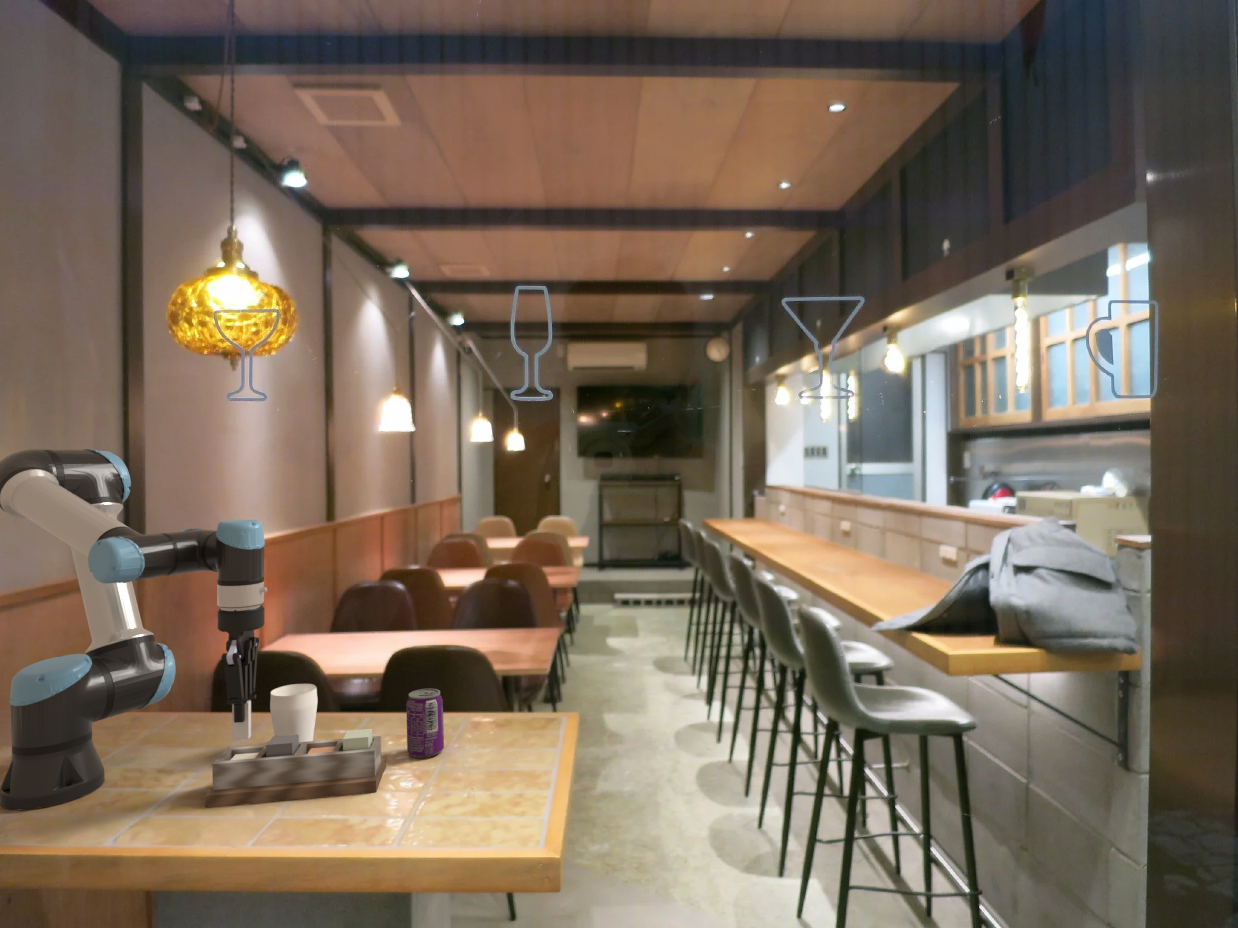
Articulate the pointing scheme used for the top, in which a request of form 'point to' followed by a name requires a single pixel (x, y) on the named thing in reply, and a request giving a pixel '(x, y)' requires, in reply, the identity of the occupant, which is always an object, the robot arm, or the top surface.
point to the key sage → (357, 740)
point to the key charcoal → (282, 745)
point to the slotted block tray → (295, 773)
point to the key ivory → (244, 756)
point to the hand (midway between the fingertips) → (241, 737)
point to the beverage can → (425, 723)
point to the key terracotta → (321, 750)
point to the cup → (294, 710)
